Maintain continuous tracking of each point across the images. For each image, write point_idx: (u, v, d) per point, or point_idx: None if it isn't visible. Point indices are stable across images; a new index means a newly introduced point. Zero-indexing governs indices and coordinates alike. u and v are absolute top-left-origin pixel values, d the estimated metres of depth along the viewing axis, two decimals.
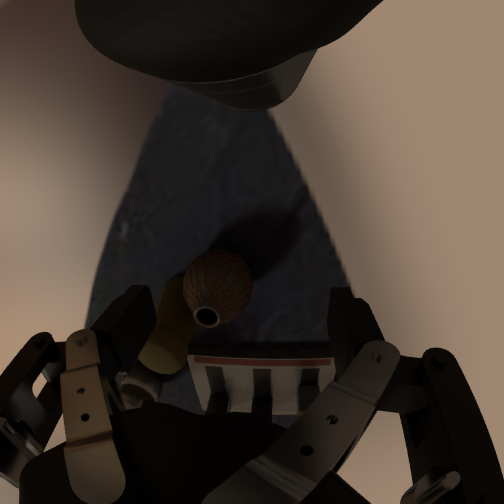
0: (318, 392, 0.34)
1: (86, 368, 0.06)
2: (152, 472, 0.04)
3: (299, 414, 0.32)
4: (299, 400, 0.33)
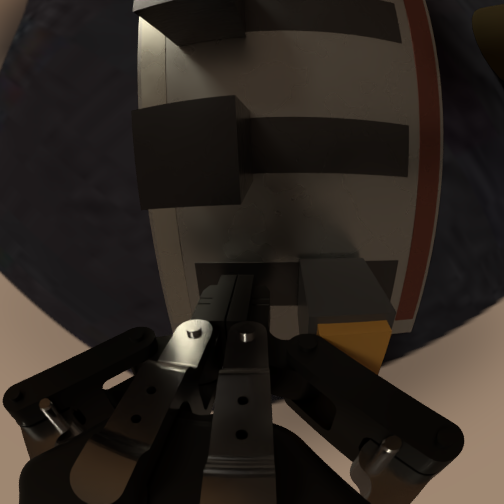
0: None
1: (173, 369, 0.06)
2: (162, 500, 0.03)
3: (371, 317, 0.08)
4: None
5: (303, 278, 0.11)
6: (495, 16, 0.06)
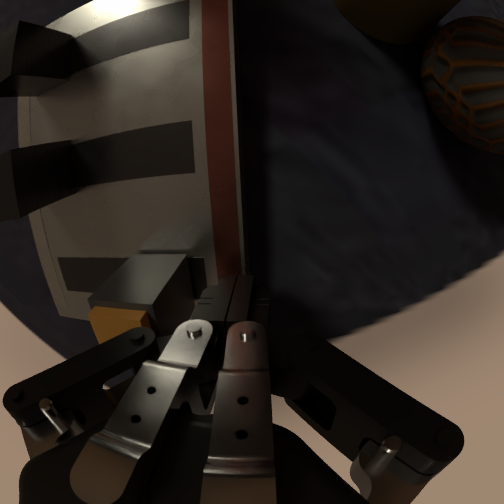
0: (188, 317, 0.13)
1: (173, 369, 0.06)
2: (162, 500, 0.03)
3: (131, 306, 0.09)
4: (168, 282, 0.11)
5: (116, 270, 0.12)
6: None
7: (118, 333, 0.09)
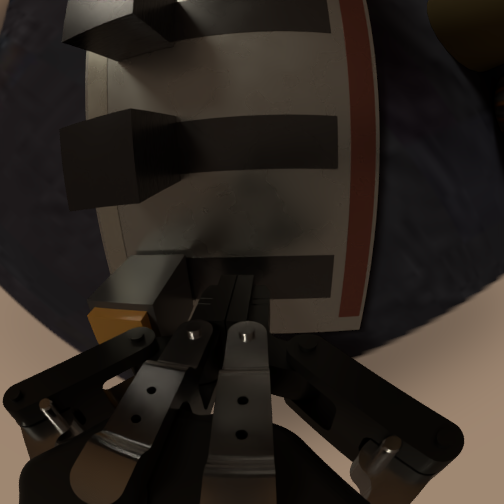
0: (187, 317, 0.13)
1: (173, 369, 0.06)
2: (162, 500, 0.03)
3: (131, 306, 0.09)
4: (168, 282, 0.11)
5: (115, 271, 0.12)
6: None
7: (118, 334, 0.09)
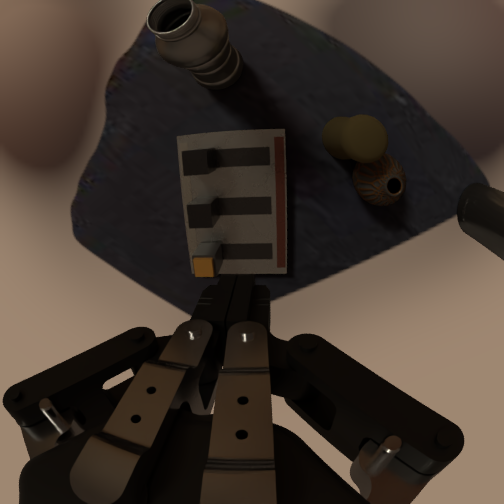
0: (221, 264, 0.39)
1: (172, 369, 0.06)
2: (162, 500, 0.03)
3: (207, 256, 0.35)
4: (217, 250, 0.36)
5: (197, 247, 0.37)
6: (327, 131, 0.32)
7: (203, 264, 0.35)
